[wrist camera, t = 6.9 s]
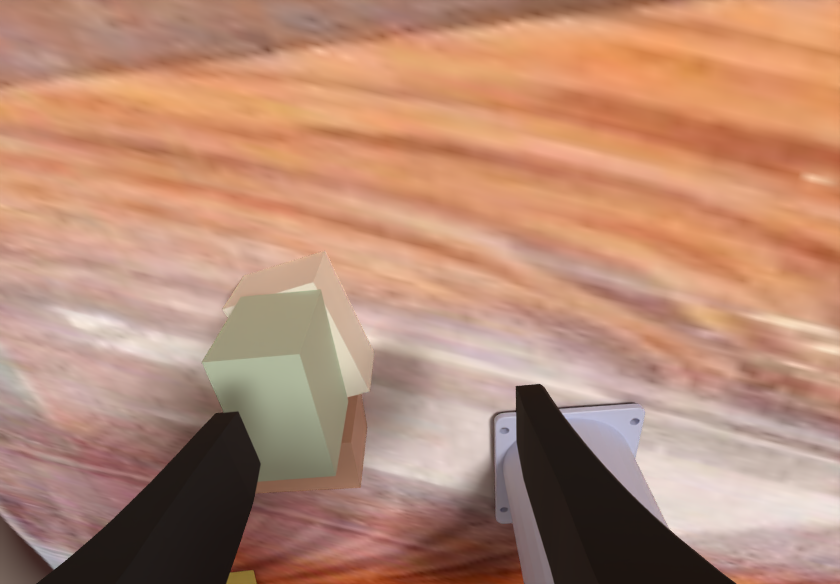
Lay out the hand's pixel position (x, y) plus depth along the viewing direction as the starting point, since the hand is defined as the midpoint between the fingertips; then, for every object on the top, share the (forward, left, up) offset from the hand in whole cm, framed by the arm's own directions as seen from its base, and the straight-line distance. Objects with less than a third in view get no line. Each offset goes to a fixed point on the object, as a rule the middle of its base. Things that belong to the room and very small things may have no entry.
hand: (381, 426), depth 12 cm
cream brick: (-3, +4, -10) cm, 11 cm away
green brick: (-3, +4, -7) cm, 9 cm away
